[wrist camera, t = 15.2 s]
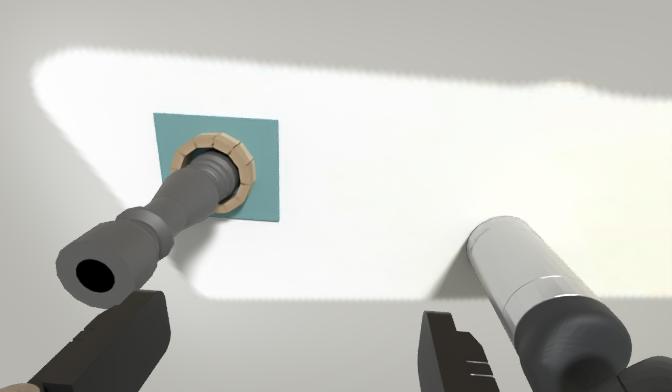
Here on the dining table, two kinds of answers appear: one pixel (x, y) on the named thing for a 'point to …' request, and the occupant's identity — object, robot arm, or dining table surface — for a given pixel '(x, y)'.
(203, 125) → the runner mat
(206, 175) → the candle holder
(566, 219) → the dining table surface
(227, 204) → the segmented wooden ring
